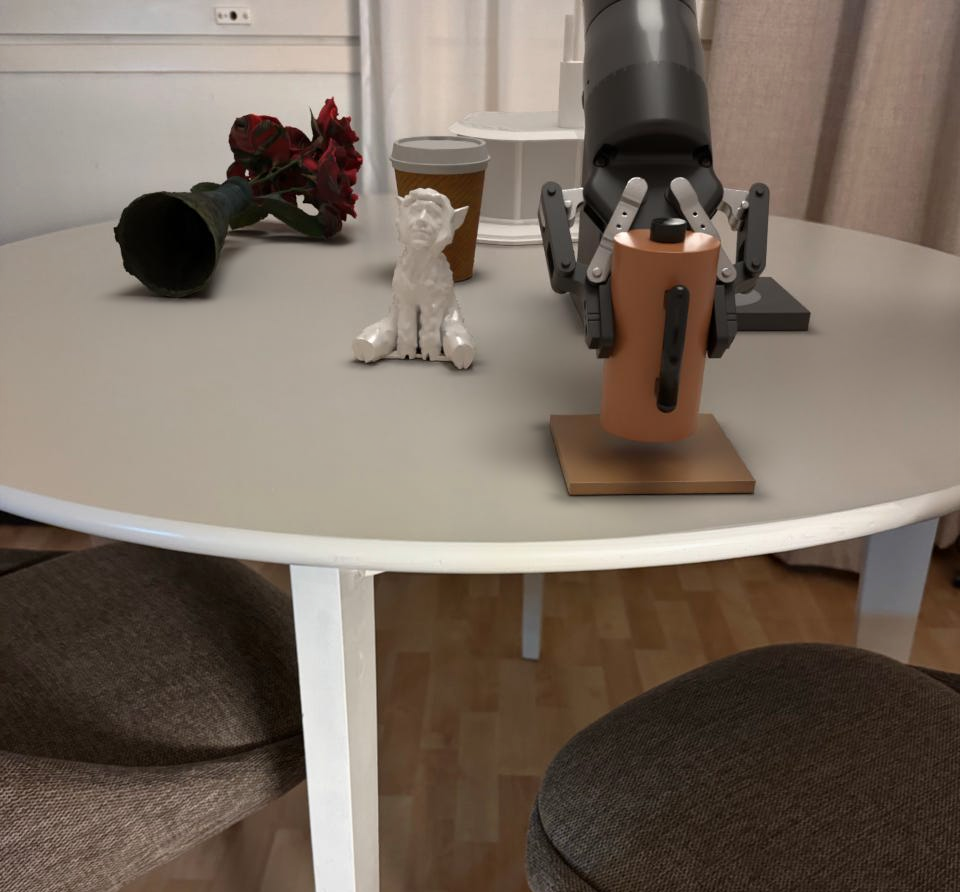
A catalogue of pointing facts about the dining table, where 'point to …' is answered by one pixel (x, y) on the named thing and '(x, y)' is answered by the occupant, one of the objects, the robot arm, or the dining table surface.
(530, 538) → the dining table surface
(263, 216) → the red rose bouquet
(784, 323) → the coffee maker
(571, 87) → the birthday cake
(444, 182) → the disposable coffee cup
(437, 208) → the white creature statuette
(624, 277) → the thermos flask
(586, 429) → the trivet
